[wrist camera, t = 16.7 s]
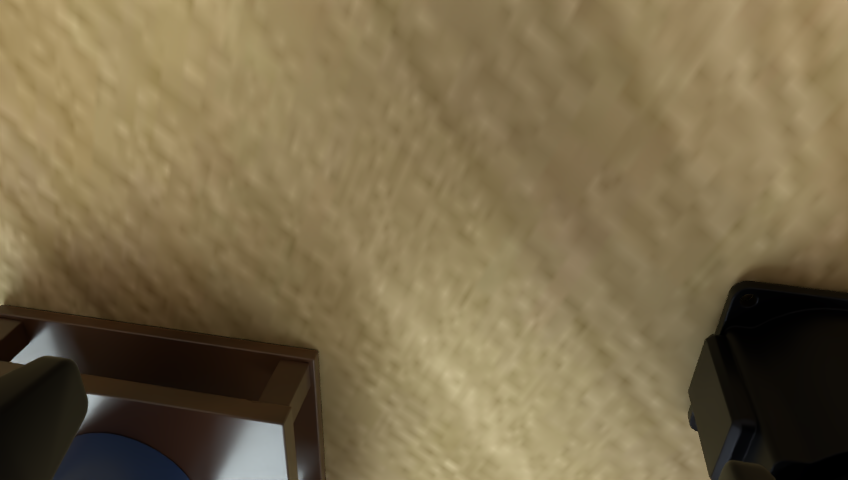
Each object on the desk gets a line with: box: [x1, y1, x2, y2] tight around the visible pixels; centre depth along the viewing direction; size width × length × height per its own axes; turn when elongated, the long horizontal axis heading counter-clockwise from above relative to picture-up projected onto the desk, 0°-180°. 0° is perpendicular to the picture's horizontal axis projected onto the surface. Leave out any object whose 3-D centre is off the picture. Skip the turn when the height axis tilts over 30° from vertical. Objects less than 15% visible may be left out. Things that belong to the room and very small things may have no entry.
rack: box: [0, 305, 326, 480], centre depth 28 cm, size 14×10×4 cm
